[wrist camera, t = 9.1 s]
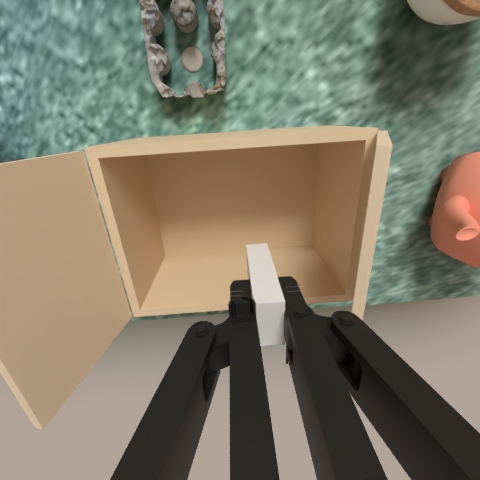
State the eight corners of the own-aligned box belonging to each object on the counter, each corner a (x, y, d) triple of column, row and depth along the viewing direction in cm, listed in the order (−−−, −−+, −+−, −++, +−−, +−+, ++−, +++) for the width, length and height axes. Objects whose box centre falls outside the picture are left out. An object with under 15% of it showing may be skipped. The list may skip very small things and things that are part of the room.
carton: (161, 259, 37) (133, 316, 26) (136, 138, 30) (84, 147, 19) (316, 247, 37) (352, 300, 26) (324, 125, 31) (378, 127, 20)
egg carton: (228, 98, 29) (228, 94, 26) (160, 100, 29) (150, 97, 25) (222, -30, 25) (221, -57, 21) (142, -29, 25) (127, -55, 21)
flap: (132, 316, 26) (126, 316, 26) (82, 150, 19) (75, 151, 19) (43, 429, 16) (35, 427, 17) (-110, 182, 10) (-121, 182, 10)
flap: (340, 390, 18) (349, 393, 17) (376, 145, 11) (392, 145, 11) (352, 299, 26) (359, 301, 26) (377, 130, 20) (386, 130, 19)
